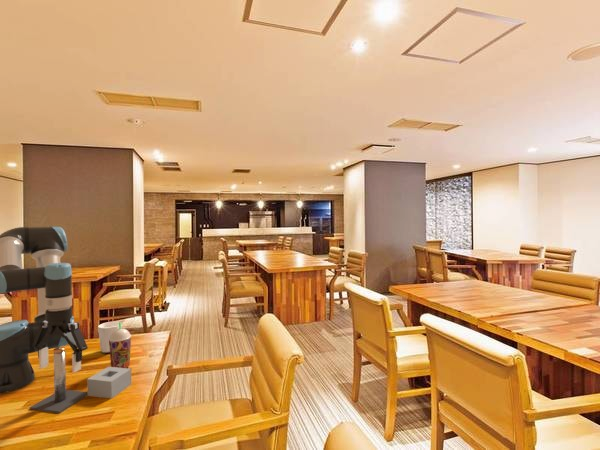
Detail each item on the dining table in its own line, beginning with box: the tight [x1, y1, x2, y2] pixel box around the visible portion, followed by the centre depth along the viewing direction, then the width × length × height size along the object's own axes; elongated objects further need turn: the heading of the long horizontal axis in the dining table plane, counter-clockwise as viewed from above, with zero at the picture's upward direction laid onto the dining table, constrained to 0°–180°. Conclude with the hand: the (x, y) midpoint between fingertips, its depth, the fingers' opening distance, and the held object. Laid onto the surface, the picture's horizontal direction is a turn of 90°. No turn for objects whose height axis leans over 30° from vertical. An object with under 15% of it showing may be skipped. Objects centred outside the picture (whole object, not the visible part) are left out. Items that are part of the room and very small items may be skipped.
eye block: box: [86, 366, 132, 399], centre depth 123 cm, size 10×10×6 cm
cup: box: [97, 320, 123, 355], centre depth 158 cm, size 10×10×13 cm
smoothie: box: [109, 321, 132, 369], centre depth 139 cm, size 8×8×20 cm
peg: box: [53, 346, 67, 402], centre depth 115 cm, size 3×3×18 cm
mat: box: [29, 389, 88, 414], centre depth 115 cm, size 12×12×1 cm
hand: (60, 368), depth 115 cm, fingers open, 13 cm apart
